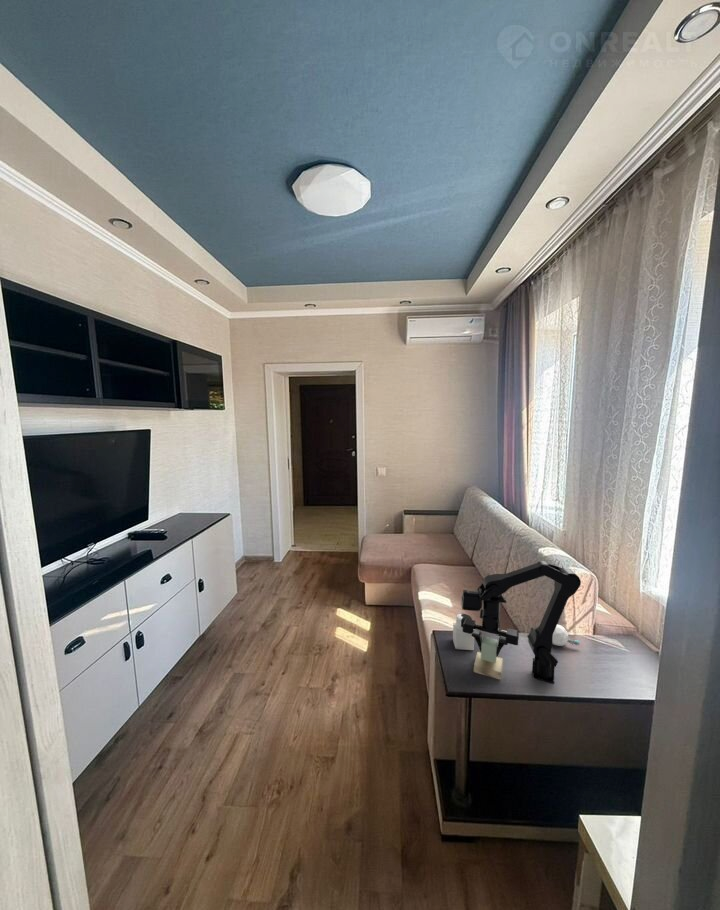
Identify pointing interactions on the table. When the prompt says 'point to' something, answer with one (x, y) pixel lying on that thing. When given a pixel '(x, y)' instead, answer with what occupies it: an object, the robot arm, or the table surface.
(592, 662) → the table surface
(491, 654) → the green block
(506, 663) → the table surface
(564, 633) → the perfume bottle
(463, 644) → the medicine bottle
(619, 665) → the table surface
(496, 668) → the oak slab
